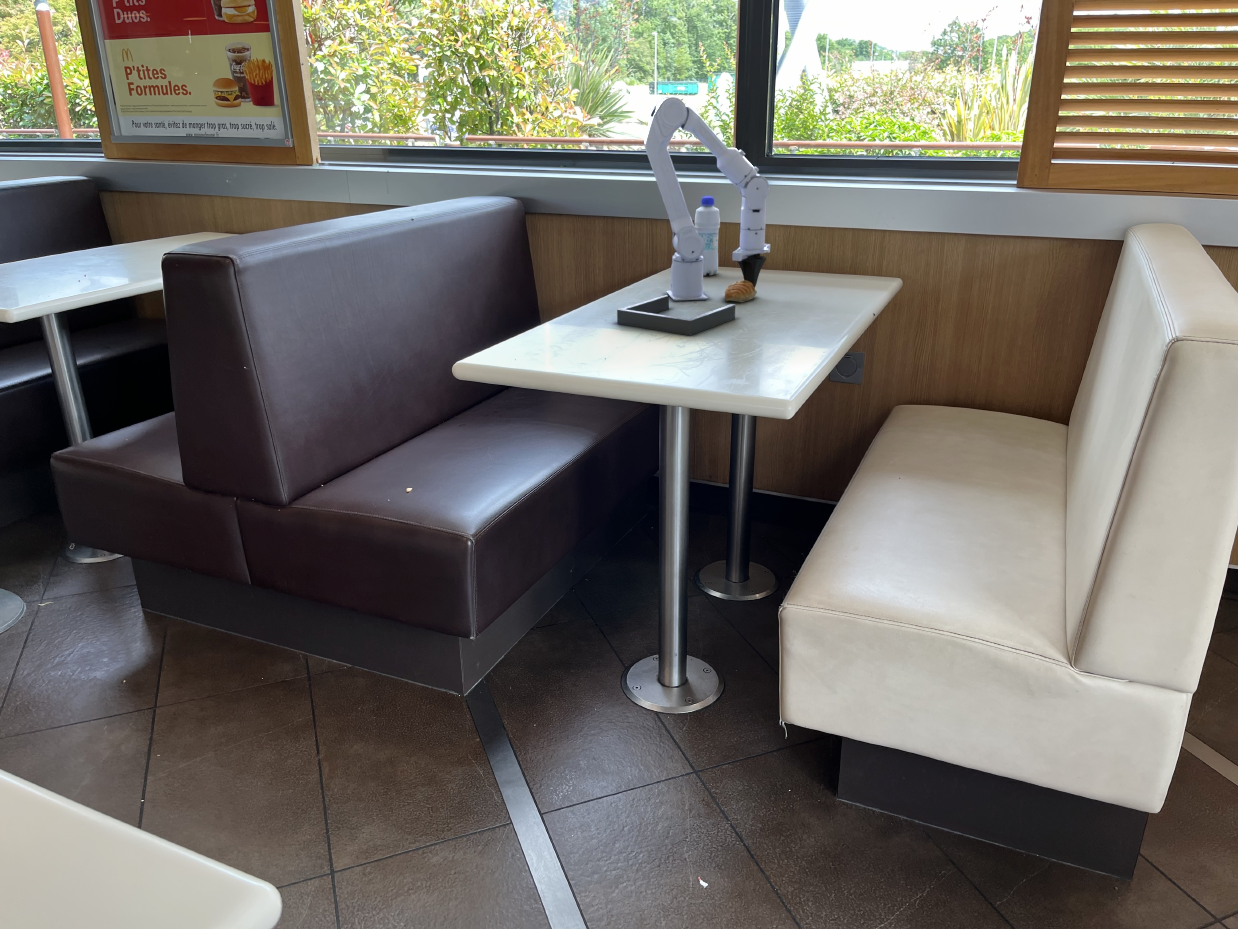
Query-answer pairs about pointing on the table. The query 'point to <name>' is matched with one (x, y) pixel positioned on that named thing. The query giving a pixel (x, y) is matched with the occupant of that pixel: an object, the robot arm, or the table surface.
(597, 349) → the table surface
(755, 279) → the robot arm
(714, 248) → the bottle
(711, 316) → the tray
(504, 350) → the table surface
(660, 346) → the table surface
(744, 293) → the pastry
